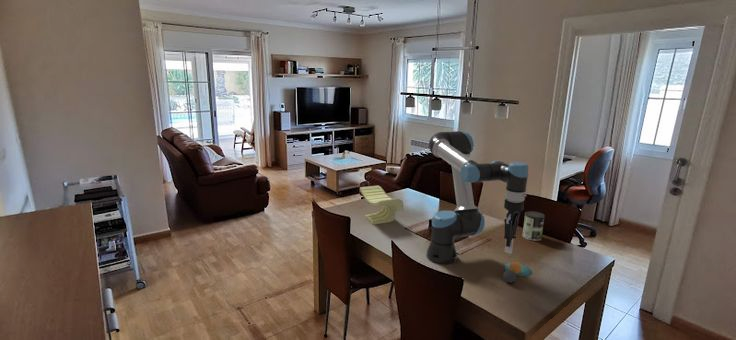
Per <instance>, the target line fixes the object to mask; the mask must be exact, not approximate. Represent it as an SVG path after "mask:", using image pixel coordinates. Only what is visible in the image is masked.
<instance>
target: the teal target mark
mask: <svg viewBox="0 0 736 340" xmlns="http://www.w3.org/2000/svg"><path fill="white" fill-rule="evenodd" d="M511 263H512V262H510V263H506V264H505V265H504V270H505V271H507V270H509V265H510V264H511ZM519 264H520V265H521V267H522V270H521V272H520V273H519V274H516V276H518V277H528V276H530V275H531V274H532V272H533V271H532V269H531V268H530V267H528V266H526V265H524V264H521V263H519Z"/></svg>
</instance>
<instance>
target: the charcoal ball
mask: <svg viewBox="0 0 736 340" xmlns="http://www.w3.org/2000/svg"><path fill="white" fill-rule="evenodd" d="M517 276H518V275H516V273H515V272H514V271H512V270H507V271H506V270H505V272H503V280H504V281H505V282H507V283H509V284H511V283H515V282H516V280H517Z"/></svg>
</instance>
